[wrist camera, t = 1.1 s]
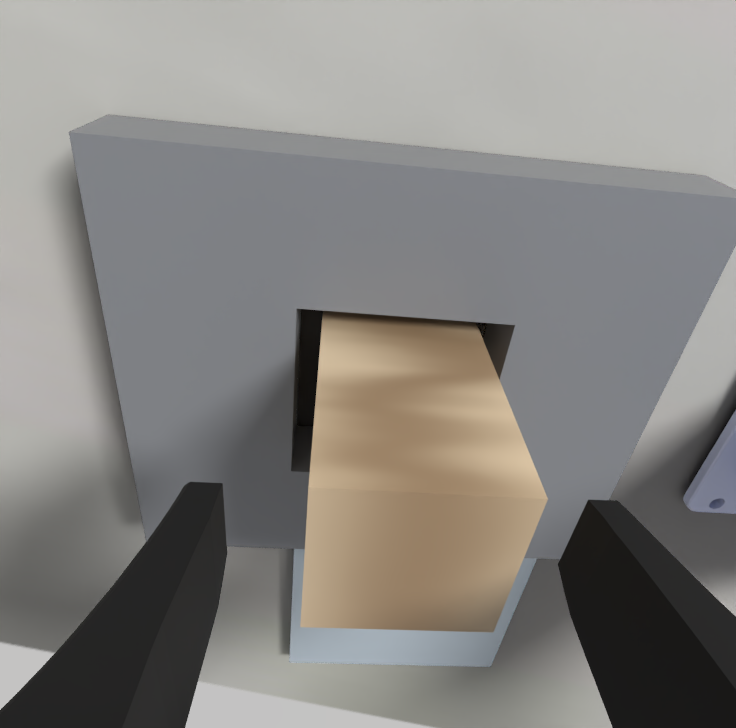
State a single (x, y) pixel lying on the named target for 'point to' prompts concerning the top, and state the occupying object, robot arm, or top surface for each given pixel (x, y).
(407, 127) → the top surface
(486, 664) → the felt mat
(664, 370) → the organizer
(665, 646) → the robot arm
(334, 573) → the oak block
